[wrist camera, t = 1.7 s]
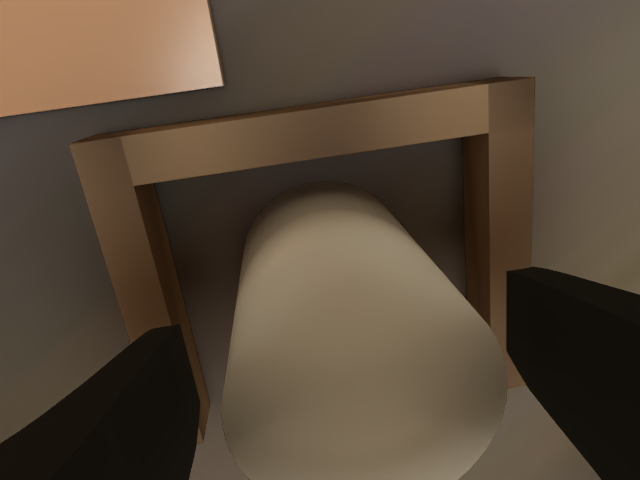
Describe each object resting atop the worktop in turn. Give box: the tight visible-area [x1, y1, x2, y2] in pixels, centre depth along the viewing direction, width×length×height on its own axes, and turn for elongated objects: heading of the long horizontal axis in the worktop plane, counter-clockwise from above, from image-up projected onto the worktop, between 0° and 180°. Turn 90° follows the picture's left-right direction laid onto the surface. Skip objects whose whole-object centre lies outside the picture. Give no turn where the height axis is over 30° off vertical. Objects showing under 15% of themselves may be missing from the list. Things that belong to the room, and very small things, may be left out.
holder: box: [69, 77, 535, 443], centre depth 14 cm, size 11×9×2 cm
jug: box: [222, 181, 508, 480], centre depth 12 cm, size 8×5×7 cm, turn 8°
